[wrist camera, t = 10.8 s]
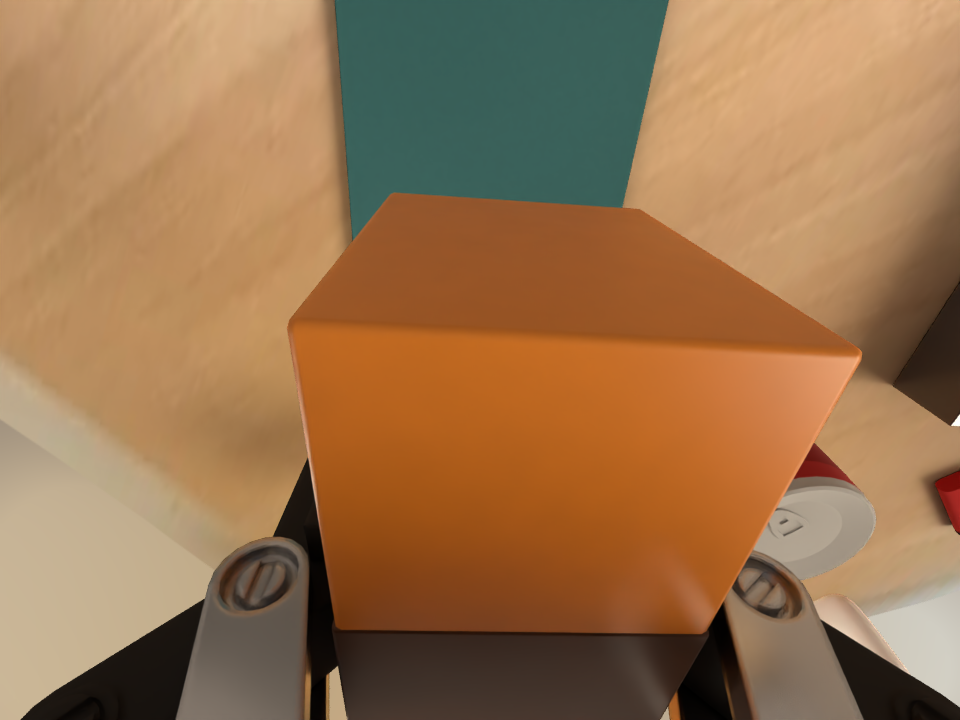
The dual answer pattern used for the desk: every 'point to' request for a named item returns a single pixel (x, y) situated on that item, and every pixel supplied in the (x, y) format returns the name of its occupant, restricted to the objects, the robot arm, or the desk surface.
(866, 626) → the figurine
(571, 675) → the orange striped block
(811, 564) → the canned food
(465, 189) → the mat
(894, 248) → the desk surface
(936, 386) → the sink basin
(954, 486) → the lighter
